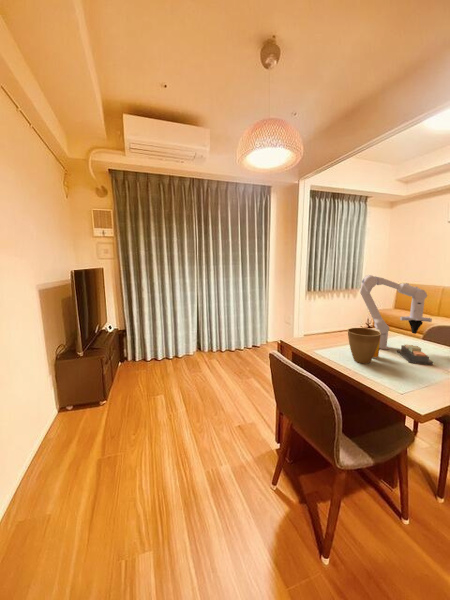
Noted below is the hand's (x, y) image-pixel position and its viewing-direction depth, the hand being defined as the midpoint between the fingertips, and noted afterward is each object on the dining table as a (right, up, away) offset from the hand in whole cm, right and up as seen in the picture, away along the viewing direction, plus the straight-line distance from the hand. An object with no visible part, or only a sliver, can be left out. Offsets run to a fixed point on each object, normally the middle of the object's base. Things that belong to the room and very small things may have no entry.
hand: (413, 333), depth 140 cm
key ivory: (-6, -9, -4) cm, 12 cm away
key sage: (-7, -9, -10) cm, 15 cm away
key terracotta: (-9, -11, -14) cm, 20 cm away
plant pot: (-37, -13, -12) cm, 41 cm away
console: (-7, -12, -9) cm, 17 cm away
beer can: (-28, -12, -7) cm, 32 cm away
